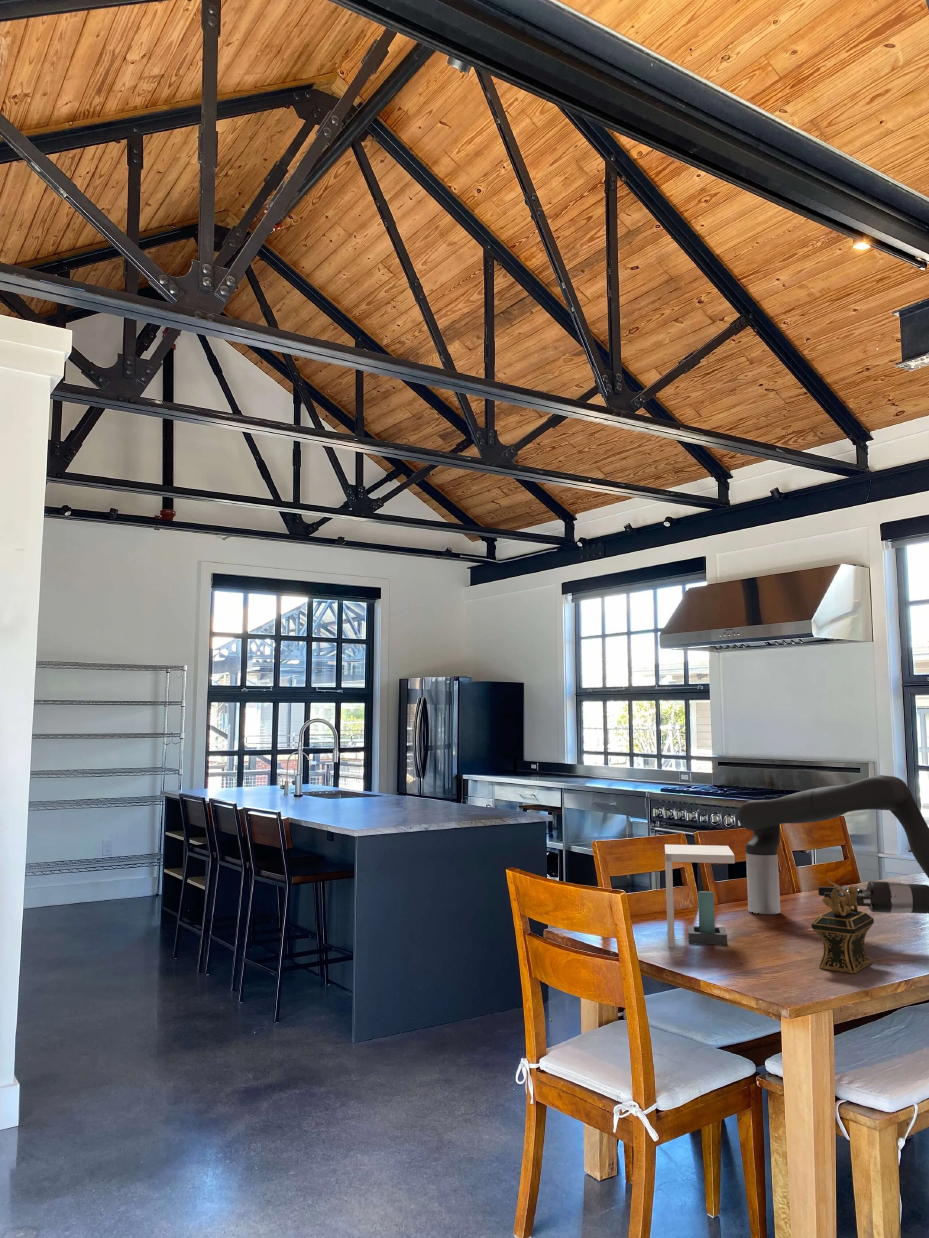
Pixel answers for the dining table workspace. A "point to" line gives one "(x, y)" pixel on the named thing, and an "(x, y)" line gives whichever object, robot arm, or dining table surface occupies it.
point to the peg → (706, 912)
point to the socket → (707, 936)
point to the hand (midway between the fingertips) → (821, 894)
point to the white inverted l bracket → (689, 855)
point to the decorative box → (843, 932)
